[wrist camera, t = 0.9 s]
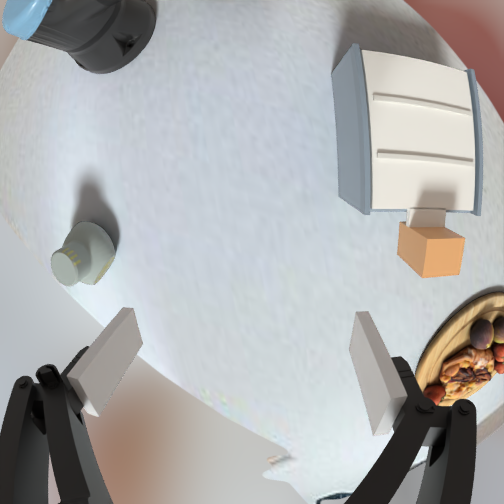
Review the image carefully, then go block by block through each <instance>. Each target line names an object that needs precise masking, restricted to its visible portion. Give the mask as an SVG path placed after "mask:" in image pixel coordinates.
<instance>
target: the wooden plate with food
mask: <svg viewBox="0 0 504 504" xmlns="http://www.w3.org/2000/svg"><path fill="white" fill-rule="evenodd" d="M497 372H498V373H499V374H503V373H504V293H503V292H495V293H490V294H487V295H484V296H482V297H479V298H477V299H476V300H474V301H472V302H471V303H469V304H468V305H466V306H465V307H464V308H463V309H461V310H460V311H459V312H458V313H457V314H455V315H454V316H453V317H452V318H451V319H450V320H449V321H448V322H447V323H446V324H445V325H444V327H443V328H442V329H441V330H440V331H439V332H438V334H437V335H436V336H435V338H434V339H433V340H432V342H431V343H430V344H429V346H428V348H427V349H426V351H425V352H424V354H423V356H422V358H421V360H420V362H419V364H418V367H417V370H416V373H415V378H416V380H417V382H418V384H419V386H420V388H421V390H422V392H423V395H424V397H426V398H429V399H431V400H433V402H434V403H435V404H436V405H438V406H450V405H453V403H454V402H455V401H456V400H458V399H466V398H468V397H469V396H471V395H472V394H474V393H475V392H477V391H478V390H479V389H481V388H482V387H483V386H484V385H485V384H486V383H487V382H488V381H490V380H491V378H492V377H493V376H494V375H495V374H496V373H497Z"/></svg>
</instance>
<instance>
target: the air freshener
mask: <svg viewBox="0 0 504 504" xmlns="http://www.w3.org/2000/svg"><path fill="white" fill-rule="evenodd" d="M114 259H115V249H114V246H113V243H112V241H111V239H110V237H109V235H108V234H107V233H106V232H105V231H104V230H103V229H102V228H101V227H100V226H99V225H97V224H95V223H92V222H87V221H83V222H79V223H78V224H77V225H75V227H74V228H73V229H72V230H71V231H70V233H69V234H68V236H67V237H66V239H65V241H64V244H63V246H62V248H60V249H59V250H57V251H55V252H54V253H53V255H52V258H51V268H52V271H53V274H54V276H55V277H56V279H57V280H58V281H59V282H60V283H62V284H63V285H65V286H73V285H75V284H76V283H78V282H79V281H80V282H82V283H85V284H89V285H95V284H96V283H97V282H98V281H99V280H100V279H101V278H102V277H103V275H104V274H105V273H106V271H107V270H108V269H109V267H110V266H111V264H112V262H113V261H114Z"/></svg>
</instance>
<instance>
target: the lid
mask: <svg viewBox="0 0 504 504" xmlns="http://www.w3.org/2000/svg"><path fill="white" fill-rule="evenodd" d="M360 54H361V61H362V68H363V75H364V83H365V92H366V102H367V113H368V126H369V144H370V183H371V191H370V208H371V209H407V217H406V222H400V225H399V239H398V250H397V255H398V256H399V257H400V258H402V259H403V260H404V261H405V262H406V263H407V264H408V265H409V266H410V267H411V268H412V269H413V270H414V271H415V272H416V273H417V274H418V275H419V276H421V277H422V278H428V277H440V276H451V275H459V273H460V267H461V262H462V256H463V249H464V242H465V238H464V237H462V236H460V235H459V234H457V233H455V232H453V231H451V230H449V229H447V228H445V216H446V210H468V211H473V207H474V191H475V139H474V123H473V112H472V103H471V96H470V89H469V82H468V76H467V72H464V71H461V70H458V69H455V68H451V67H448V66H444V65H441V64H437V63H433V62H429V61H425V60H420V59H416V58H411V57H406V56H400V55H395V54H389V53H382V52H375V51H367V50H361V51H360Z"/></svg>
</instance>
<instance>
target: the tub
mask: <svg viewBox="0 0 504 504" xmlns="http://www.w3.org/2000/svg"><path fill="white" fill-rule="evenodd" d="M360 51H361V49H360V48H359V44H355V43H353V44H352V46H351V47H350V48H349V50H348V51H347V53H346V54H345V55H344V57H343V58H342V60H341V61H340V62H339V64H338V65H337V67H336V68H335V70H334V71H333V72H332V74H331V77H332V86H333V96H334V107H335V120H336V134H337V153H338V184H339V197H340V198H341V199H343V200H344V201H346V202H347V203H348V204H350V205H351V206H353V207H354V208H356V209H357V210H358V211H360V212H361V213H363V214H364V215H370V212H407V209H371V208H370V191H371V183H370V144H369V126H368V113H367V102H366V92H365V83H364V75H363V68H362V61H361V54H360ZM367 51H370V50H367ZM375 52H378V51H375ZM382 53H384V52H382ZM389 54H391V53H389ZM395 55H397V54H395ZM400 56H402V55H400ZM406 57H407V56H406ZM411 58H412V57H411ZM416 59H417V58H416ZM420 60H421V59H420ZM425 61H426V60H425ZM429 62H430V61H429ZM433 63H434V62H433ZM437 64H438V63H437ZM441 65H442V64H441ZM444 66H445V65H444ZM448 67H449V66H448ZM451 68H452V67H451ZM455 69H456V68H455ZM458 70H459V69H458ZM461 71H462V70H461ZM464 72H467V76H468V82H469V89H470V96H471V103H472V112H473V123H474V139H475V191H474V207H473V211H468V210H446V212H458V213H472V214H474V215H477V216H481V205H482V189H483V141H482V125H481V114H480V105H479V97H478V90H477V84H476V78H475V73H474V70H473V69H468V70H465V71H464Z"/></svg>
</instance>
